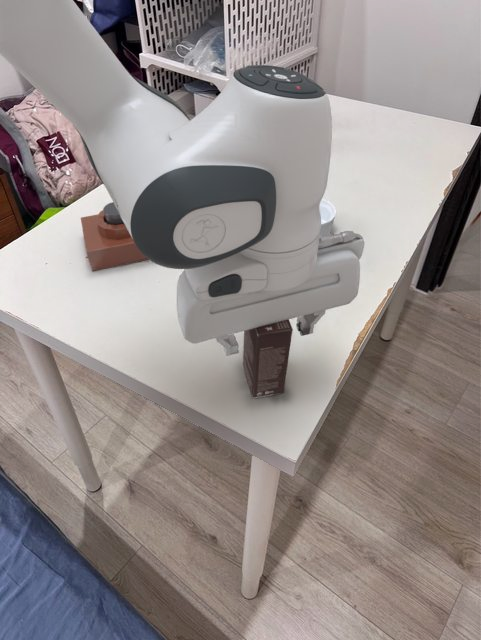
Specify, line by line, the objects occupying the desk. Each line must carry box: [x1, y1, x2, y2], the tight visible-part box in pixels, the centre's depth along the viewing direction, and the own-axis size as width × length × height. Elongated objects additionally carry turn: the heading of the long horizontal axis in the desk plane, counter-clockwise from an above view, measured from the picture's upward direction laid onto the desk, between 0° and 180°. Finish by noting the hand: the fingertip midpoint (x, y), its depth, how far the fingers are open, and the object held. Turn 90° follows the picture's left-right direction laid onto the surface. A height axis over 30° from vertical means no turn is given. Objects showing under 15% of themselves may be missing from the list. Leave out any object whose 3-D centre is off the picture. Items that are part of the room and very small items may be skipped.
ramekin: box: [319, 197, 337, 237], centre depth 82 cm, size 9×9×4 cm
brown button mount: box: [80, 209, 150, 272], centre depth 78 cm, size 12×10×6 cm
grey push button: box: [102, 201, 124, 225], centre depth 76 cm, size 4×4×2 cm
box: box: [242, 319, 293, 399], centre depth 57 cm, size 6×4×12 cm
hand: (268, 340), depth 56 cm, fingers open, 8 cm apart
